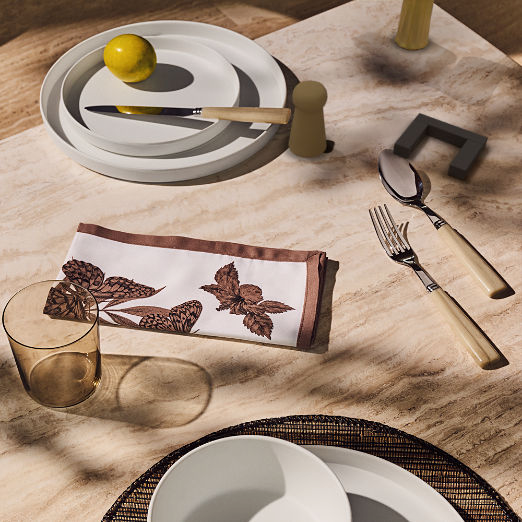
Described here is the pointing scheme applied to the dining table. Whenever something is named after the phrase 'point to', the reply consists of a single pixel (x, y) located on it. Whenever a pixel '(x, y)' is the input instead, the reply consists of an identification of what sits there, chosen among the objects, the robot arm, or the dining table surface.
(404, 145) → the dark gray u-shaped block
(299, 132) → the olive pawn
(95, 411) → the dining table surface
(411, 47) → the vase
